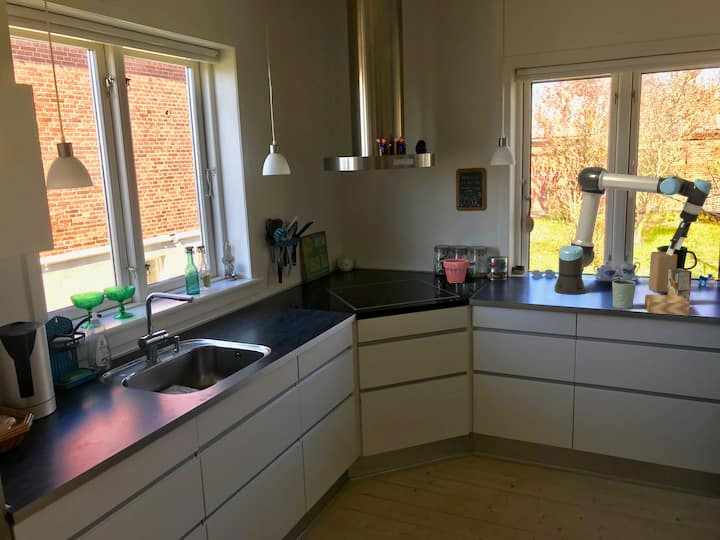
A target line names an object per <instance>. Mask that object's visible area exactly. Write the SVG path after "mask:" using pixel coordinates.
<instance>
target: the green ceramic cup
mask: <svg viewBox="0 0 720 540" xmlns="http://www.w3.org/2000/svg"><path fill="white" fill-rule="evenodd" d="M636 285H637V282H636V281H633V280H630V279H629V280H628V279H615V280H612V285H611V286H612V307H613V308H614V307H615V309H619V308H622V309H621V310H629V309H628V308H631V309H632V308H633V307H634V298H635V291H636Z"/></svg>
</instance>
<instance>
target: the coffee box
mask: <svg viewBox="0 0 720 540" xmlns="http://www.w3.org/2000/svg"><path fill="white" fill-rule="evenodd" d="M692 272H693V271H691V270H688V269H684V268H682V267H678V268H673V269H669V273H668V290H667V294H666V295H670V296H684V298H685V299H686V300H687V302H688V303H689V304H690V300H691V289H692V287H691V286H692V274H693V273H692Z"/></svg>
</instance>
